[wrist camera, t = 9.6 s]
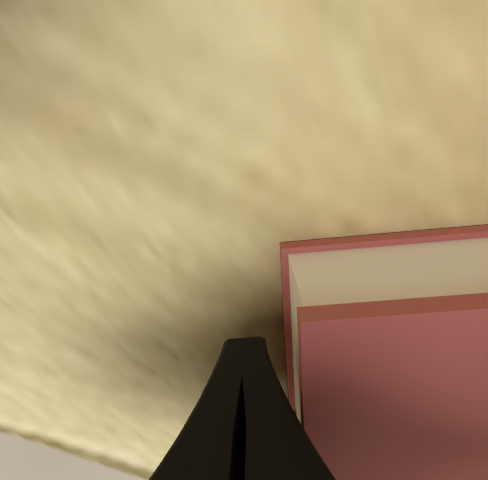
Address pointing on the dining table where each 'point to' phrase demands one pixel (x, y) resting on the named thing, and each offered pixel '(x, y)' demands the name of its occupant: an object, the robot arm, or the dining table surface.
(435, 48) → the dining table surface
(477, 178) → the dining table surface
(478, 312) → the book
